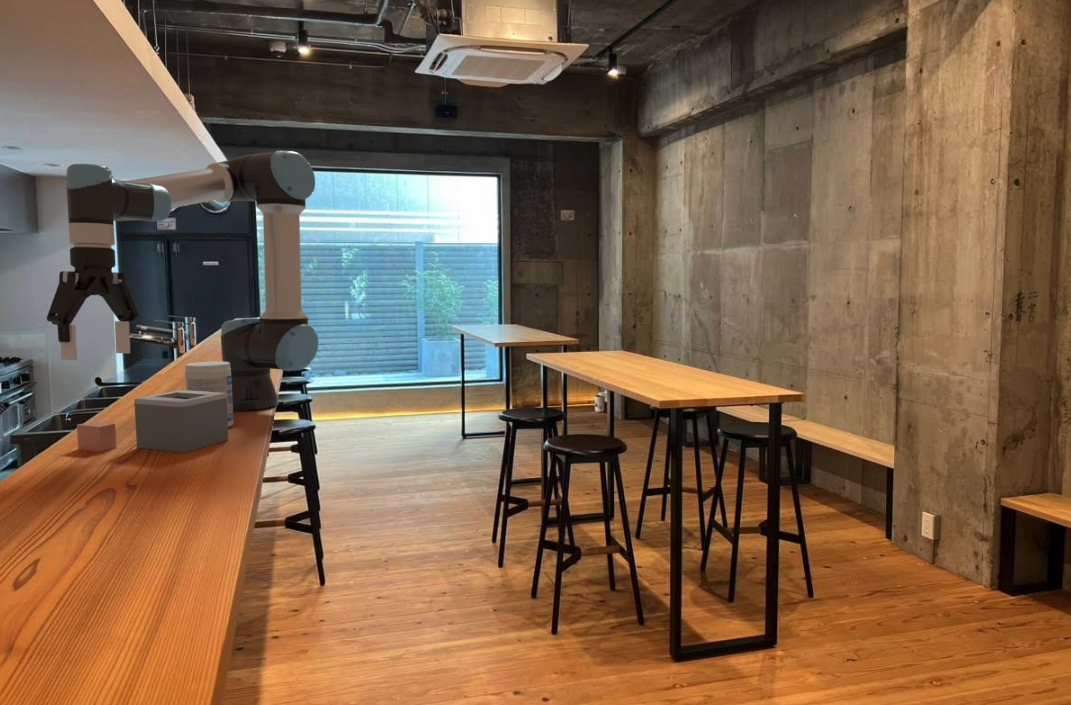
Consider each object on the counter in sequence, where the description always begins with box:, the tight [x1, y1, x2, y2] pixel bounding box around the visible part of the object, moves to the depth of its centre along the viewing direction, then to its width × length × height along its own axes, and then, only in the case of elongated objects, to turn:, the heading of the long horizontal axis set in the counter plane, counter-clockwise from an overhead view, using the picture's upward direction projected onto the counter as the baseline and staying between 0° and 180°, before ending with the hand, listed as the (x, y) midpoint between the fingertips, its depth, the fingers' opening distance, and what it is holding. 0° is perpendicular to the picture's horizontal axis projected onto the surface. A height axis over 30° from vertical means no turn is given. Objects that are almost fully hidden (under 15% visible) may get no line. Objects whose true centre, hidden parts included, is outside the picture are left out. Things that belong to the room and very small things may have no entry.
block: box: [76, 421, 117, 452], centre depth 147 cm, size 6×4×5 cm, turn 71°
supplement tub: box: [184, 361, 234, 428], centre depth 167 cm, size 10×10×15 cm
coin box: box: [133, 389, 229, 454], centre depth 151 cm, size 12×12×10 cm
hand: (97, 356), depth 145 cm, fingers open, 13 cm apart
